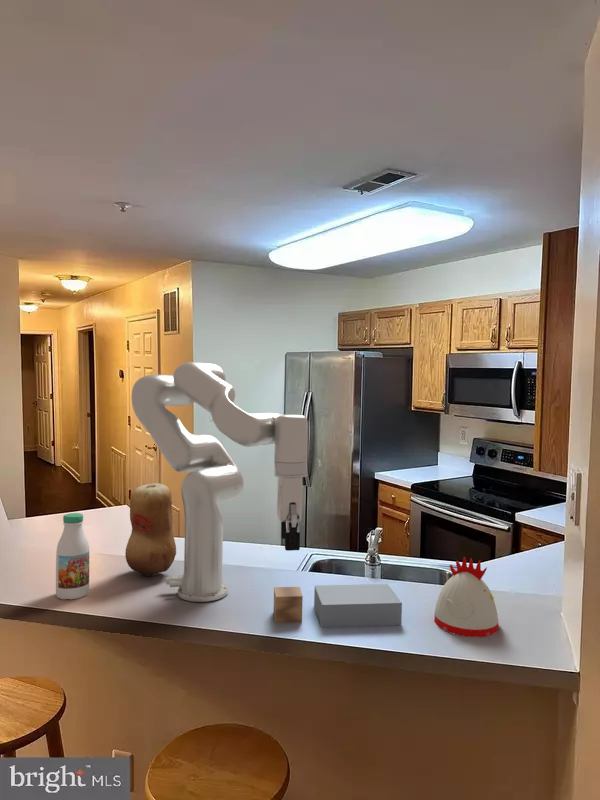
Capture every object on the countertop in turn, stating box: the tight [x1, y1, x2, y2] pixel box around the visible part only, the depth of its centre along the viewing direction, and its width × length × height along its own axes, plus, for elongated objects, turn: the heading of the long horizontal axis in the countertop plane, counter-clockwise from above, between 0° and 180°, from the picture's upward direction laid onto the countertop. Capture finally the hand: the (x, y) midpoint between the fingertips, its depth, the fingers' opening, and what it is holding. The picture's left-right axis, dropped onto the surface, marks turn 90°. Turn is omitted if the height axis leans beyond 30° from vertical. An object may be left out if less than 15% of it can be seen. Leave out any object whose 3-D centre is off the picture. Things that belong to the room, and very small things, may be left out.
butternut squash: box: [124, 483, 177, 577], centre depth 156 cm, size 14×13×25 cm
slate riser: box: [313, 583, 403, 628], centre depth 132 cm, size 18×12×5 cm, turn 96°
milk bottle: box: [55, 512, 90, 600], centre depth 140 cm, size 8×8×20 cm
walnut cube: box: [273, 586, 304, 624], centre depth 130 cm, size 6×6×6 cm
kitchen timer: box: [433, 556, 499, 638], centre depth 128 cm, size 14×14×15 cm
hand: (290, 543), depth 129 cm, fingers open, 9 cm apart
